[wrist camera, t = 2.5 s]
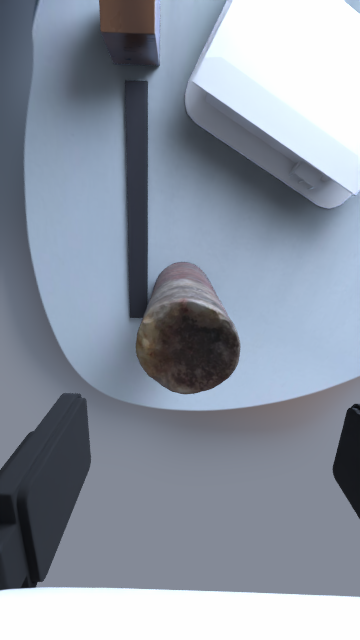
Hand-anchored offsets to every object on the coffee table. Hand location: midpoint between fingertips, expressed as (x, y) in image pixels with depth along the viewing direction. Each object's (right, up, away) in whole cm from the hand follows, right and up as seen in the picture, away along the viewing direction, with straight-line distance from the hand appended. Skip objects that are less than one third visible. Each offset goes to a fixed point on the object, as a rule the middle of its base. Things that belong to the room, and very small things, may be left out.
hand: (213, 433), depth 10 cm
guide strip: (-6, +17, +24) cm, 31 cm away
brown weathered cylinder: (-1, +8, +27) cm, 29 cm away
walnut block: (-6, +34, +19) cm, 39 cm away
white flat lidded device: (+12, +29, +21) cm, 37 cm away
